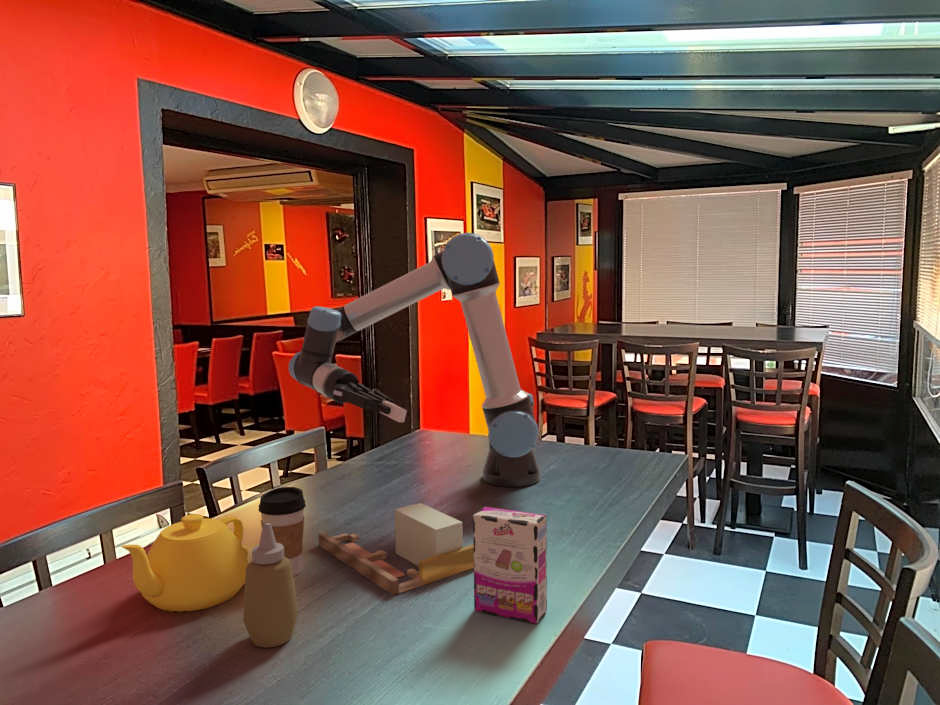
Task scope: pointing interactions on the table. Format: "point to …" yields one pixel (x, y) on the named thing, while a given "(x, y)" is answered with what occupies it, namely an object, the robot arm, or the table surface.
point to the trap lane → (388, 575)
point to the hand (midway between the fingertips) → (402, 416)
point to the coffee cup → (286, 521)
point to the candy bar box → (510, 564)
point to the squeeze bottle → (269, 593)
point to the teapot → (191, 564)
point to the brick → (425, 533)
